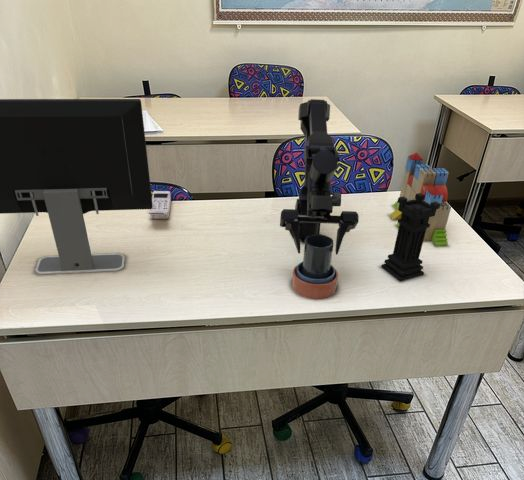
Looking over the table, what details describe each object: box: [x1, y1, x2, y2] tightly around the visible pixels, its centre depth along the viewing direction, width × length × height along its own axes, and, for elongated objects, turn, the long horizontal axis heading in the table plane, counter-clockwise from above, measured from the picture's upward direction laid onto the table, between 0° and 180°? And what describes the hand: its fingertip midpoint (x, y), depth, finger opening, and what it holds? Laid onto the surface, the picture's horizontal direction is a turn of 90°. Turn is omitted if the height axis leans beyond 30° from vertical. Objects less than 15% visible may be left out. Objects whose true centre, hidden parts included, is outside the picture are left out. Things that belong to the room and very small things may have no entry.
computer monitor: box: [0, 98, 153, 275], centre depth 122 cm, size 41×8×40 cm, turn 98°
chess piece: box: [380, 193, 440, 282], centre depth 131 cm, size 8×8×20 cm
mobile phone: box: [146, 190, 172, 220], centre depth 158 cm, size 6×6×25 cm
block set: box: [389, 152, 452, 247], centre depth 153 cm, size 28×14×19 cm, turn 7°
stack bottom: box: [291, 263, 339, 300], centre depth 129 cm, size 11×11×4 cm
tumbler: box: [302, 233, 334, 279], centre depth 126 cm, size 7×7×12 cm
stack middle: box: [296, 261, 336, 284], centre depth 129 cm, size 10×10×5 cm
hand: (317, 253), depth 124 cm, fingers open, 9 cm apart
